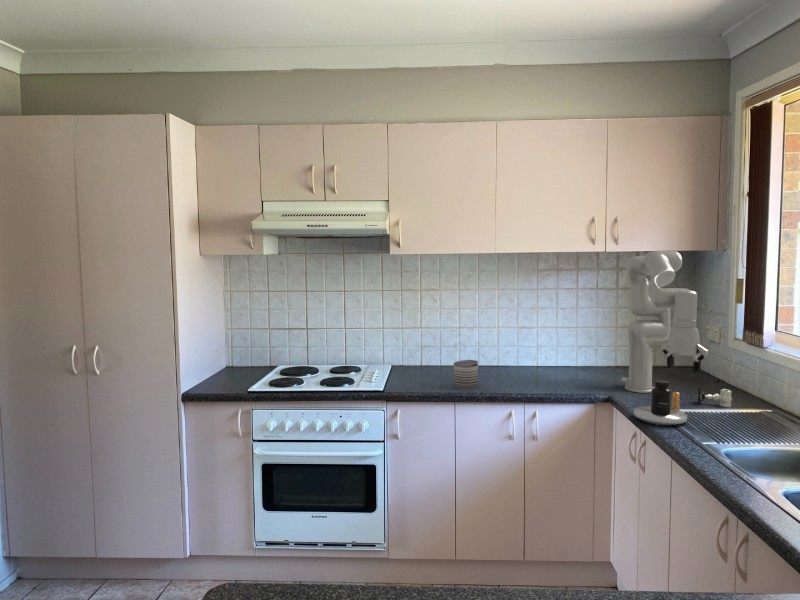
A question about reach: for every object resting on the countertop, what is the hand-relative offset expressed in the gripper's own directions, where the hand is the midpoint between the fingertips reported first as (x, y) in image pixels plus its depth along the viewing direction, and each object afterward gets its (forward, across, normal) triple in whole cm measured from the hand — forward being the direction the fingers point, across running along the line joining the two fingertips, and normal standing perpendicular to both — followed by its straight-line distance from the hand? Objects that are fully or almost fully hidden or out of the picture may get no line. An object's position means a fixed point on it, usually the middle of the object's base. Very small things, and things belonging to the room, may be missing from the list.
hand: (683, 369), depth 208 cm
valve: (+19, -2, +28) cm, 34 cm away
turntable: (+18, -4, -6) cm, 19 cm away
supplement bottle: (+16, -4, -7) cm, 18 cm away
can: (+19, -85, -31) cm, 93 cm away
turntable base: (+19, -4, -7) cm, 21 cm away
